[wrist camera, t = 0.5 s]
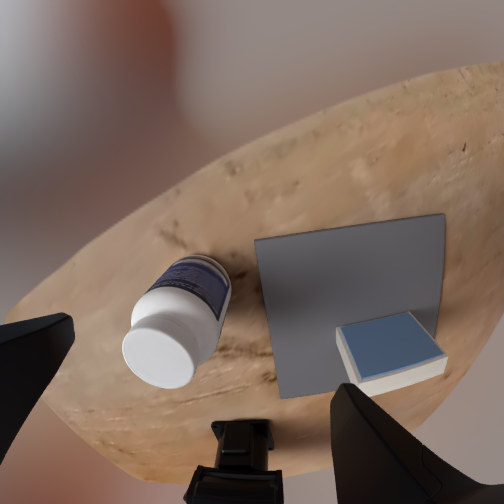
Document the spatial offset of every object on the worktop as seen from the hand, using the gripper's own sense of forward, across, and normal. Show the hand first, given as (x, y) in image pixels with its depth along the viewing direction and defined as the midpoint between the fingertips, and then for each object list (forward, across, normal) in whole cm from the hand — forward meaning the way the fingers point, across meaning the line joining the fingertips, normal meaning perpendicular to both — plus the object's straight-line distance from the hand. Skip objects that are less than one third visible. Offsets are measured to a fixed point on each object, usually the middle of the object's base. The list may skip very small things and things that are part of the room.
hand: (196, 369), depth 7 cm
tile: (+13, -13, +4) cm, 19 cm away
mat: (+14, -11, +3) cm, 18 cm away
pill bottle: (+14, +3, +3) cm, 14 cm away
